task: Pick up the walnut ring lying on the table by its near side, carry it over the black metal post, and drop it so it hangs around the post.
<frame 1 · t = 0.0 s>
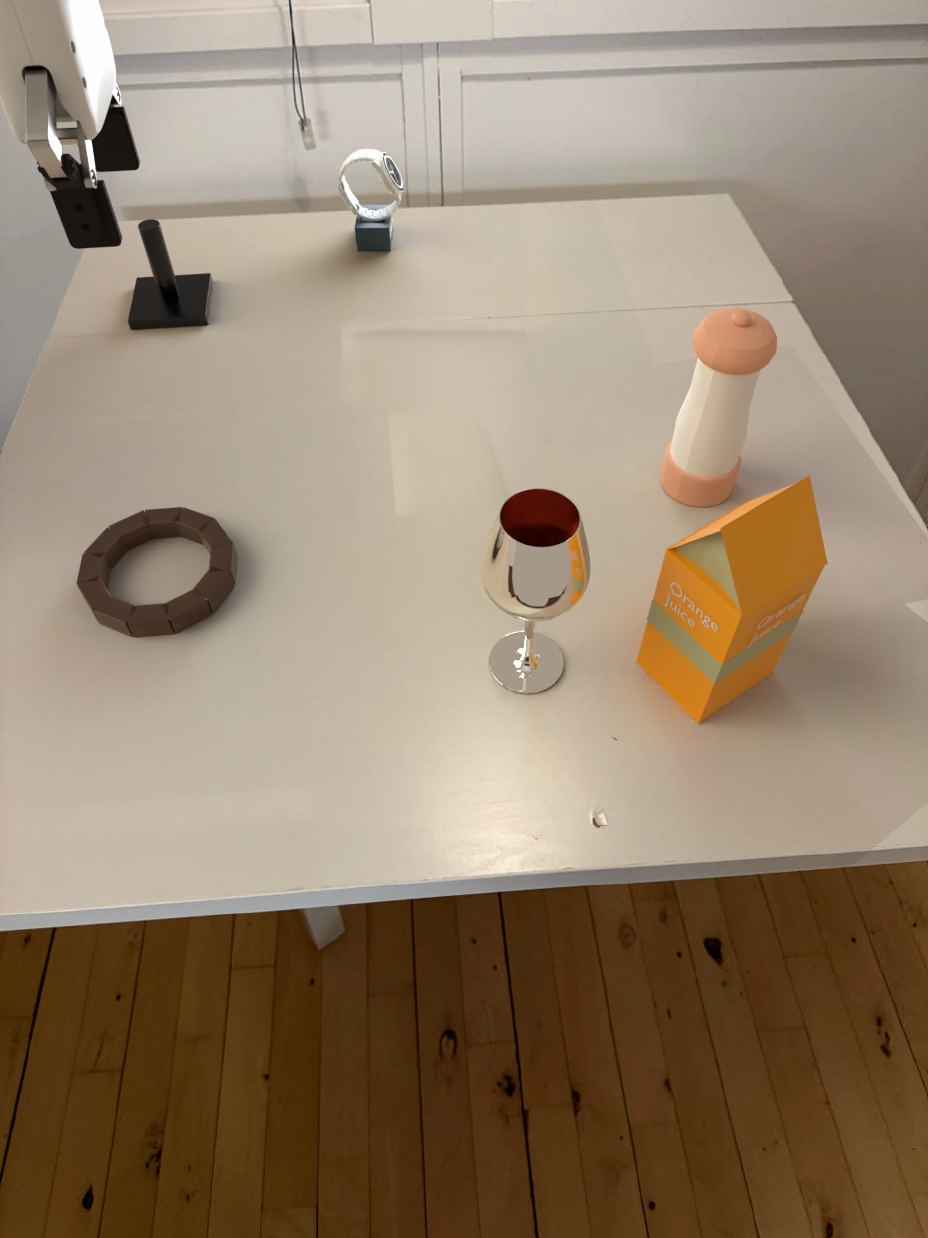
hand: (108, 205, 60), 32 cm above the table, tool pointing down, fingers open, 9 cm apart
wineglass: (526, 664, 77), on the table
post: (172, 304, 108), on the table
pepper shaker: (695, 482, 90), on the table
watch: (376, 240, 117), on the table
ring: (162, 576, 83), on the table
orange juice: (704, 668, 77), on the table
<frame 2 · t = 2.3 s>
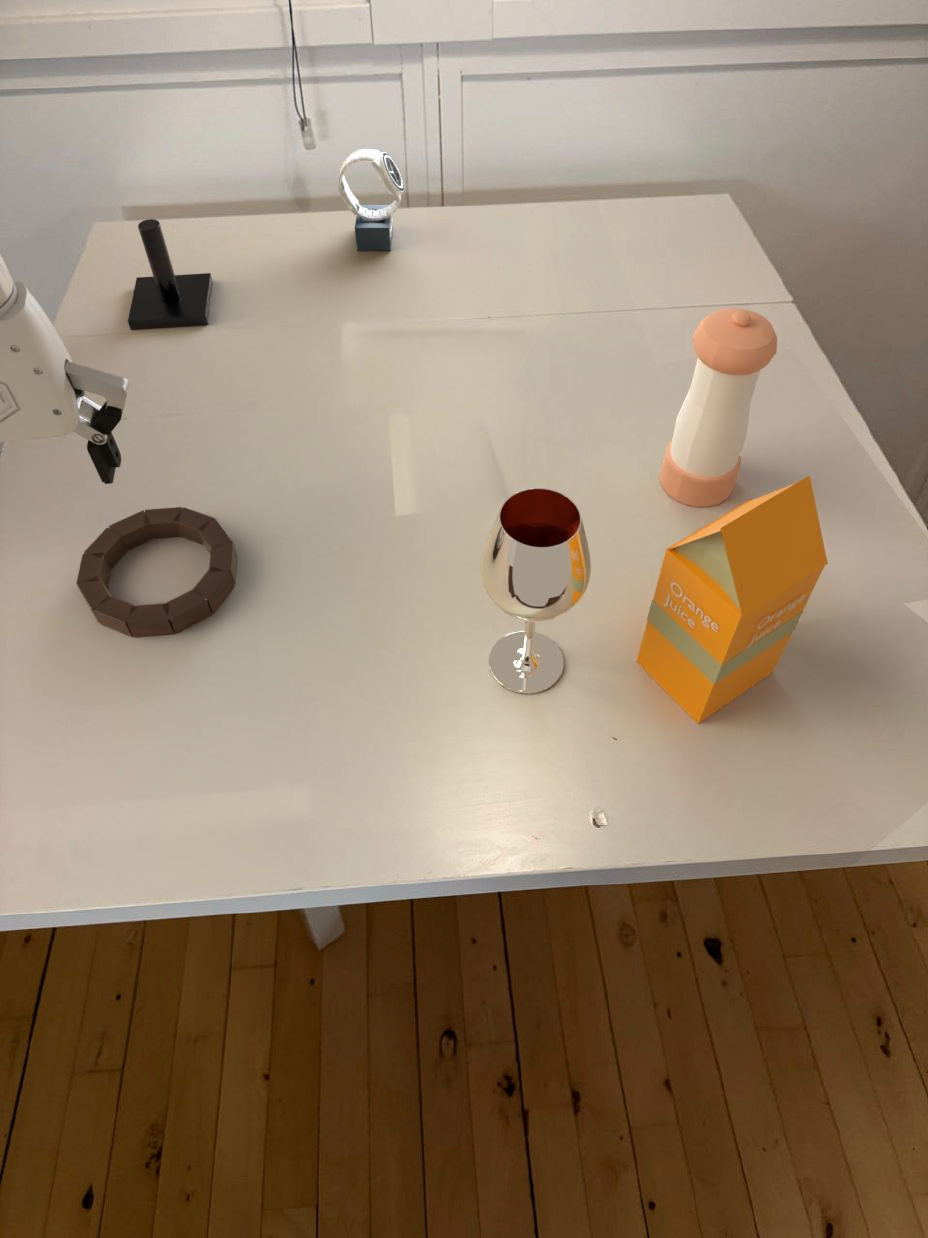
hand: (49, 476, 72), 13 cm above the table, tool pointing down, fingers open, 9 cm apart
nothing on the table moved.
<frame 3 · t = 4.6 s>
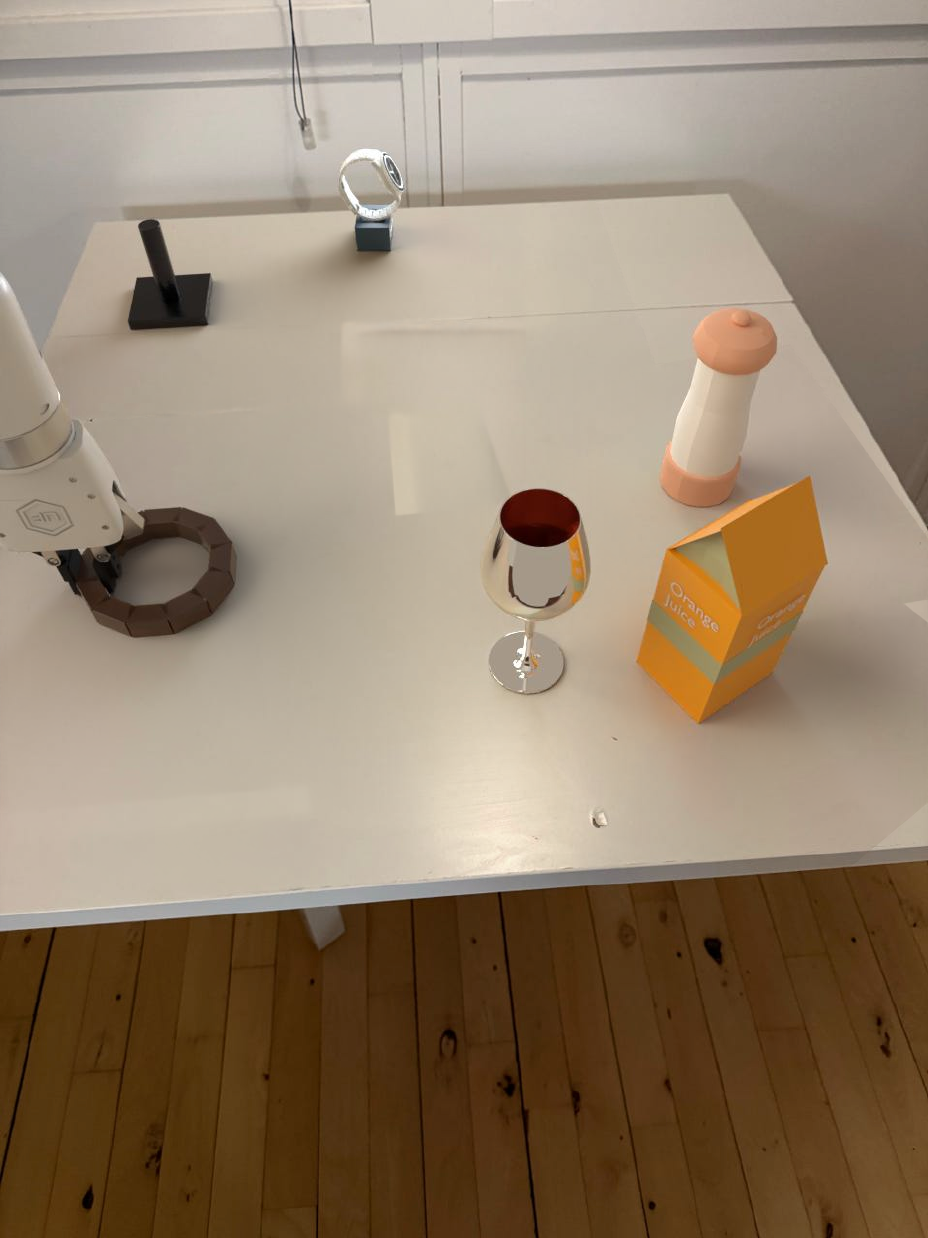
hand: (97, 580, 82), 0 cm above the table, tool pointing down, fingers closed on ring, 2 cm apart
ring: (161, 576, 83), on the table, touching gripper
everything else where it was.
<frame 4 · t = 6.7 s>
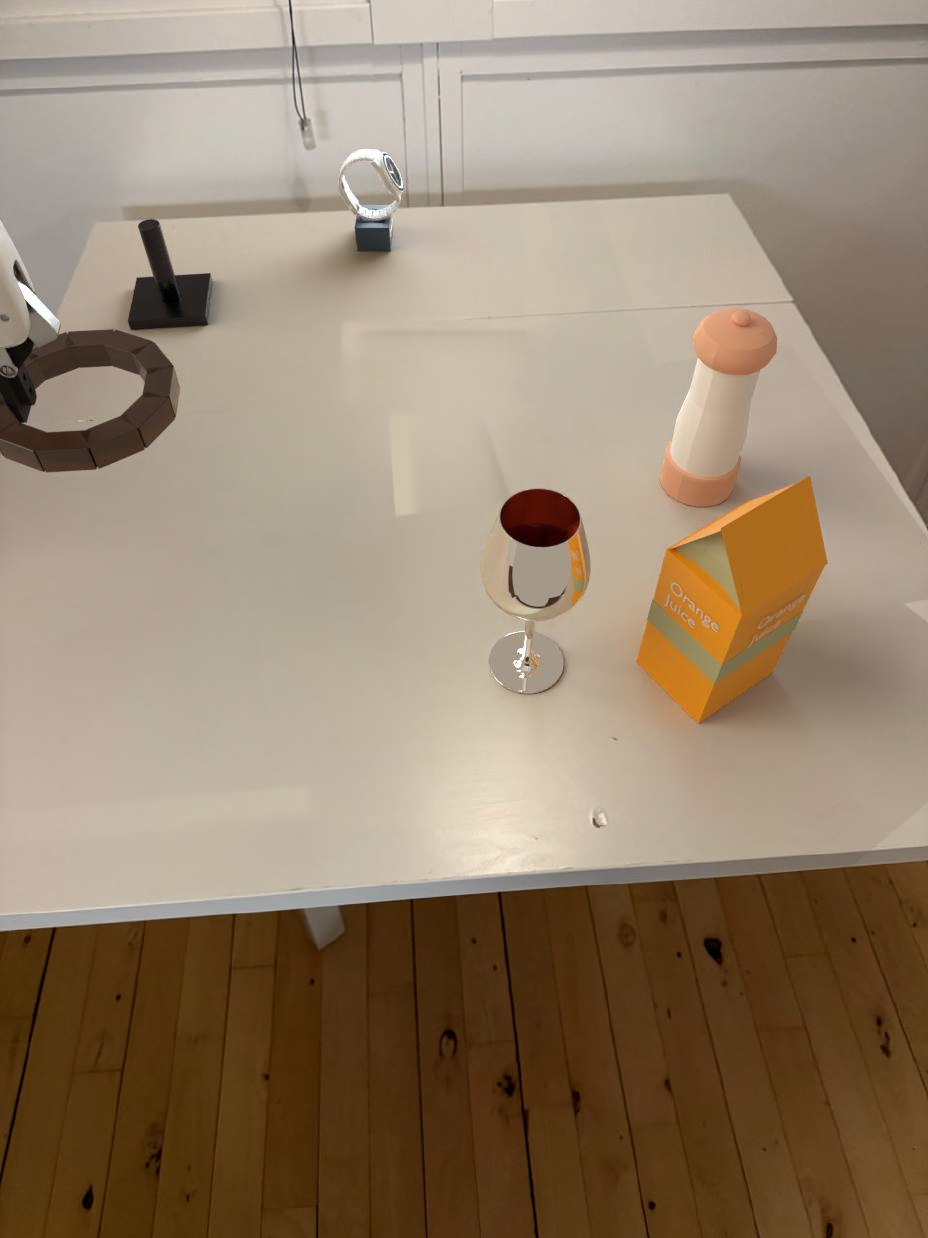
hand: (6, 410, 67), 20 cm above the table, tool pointing down, fingers closed on ring
ring: (86, 407, 67), point 20 cm above the table, touching gripper
everything else where it was.
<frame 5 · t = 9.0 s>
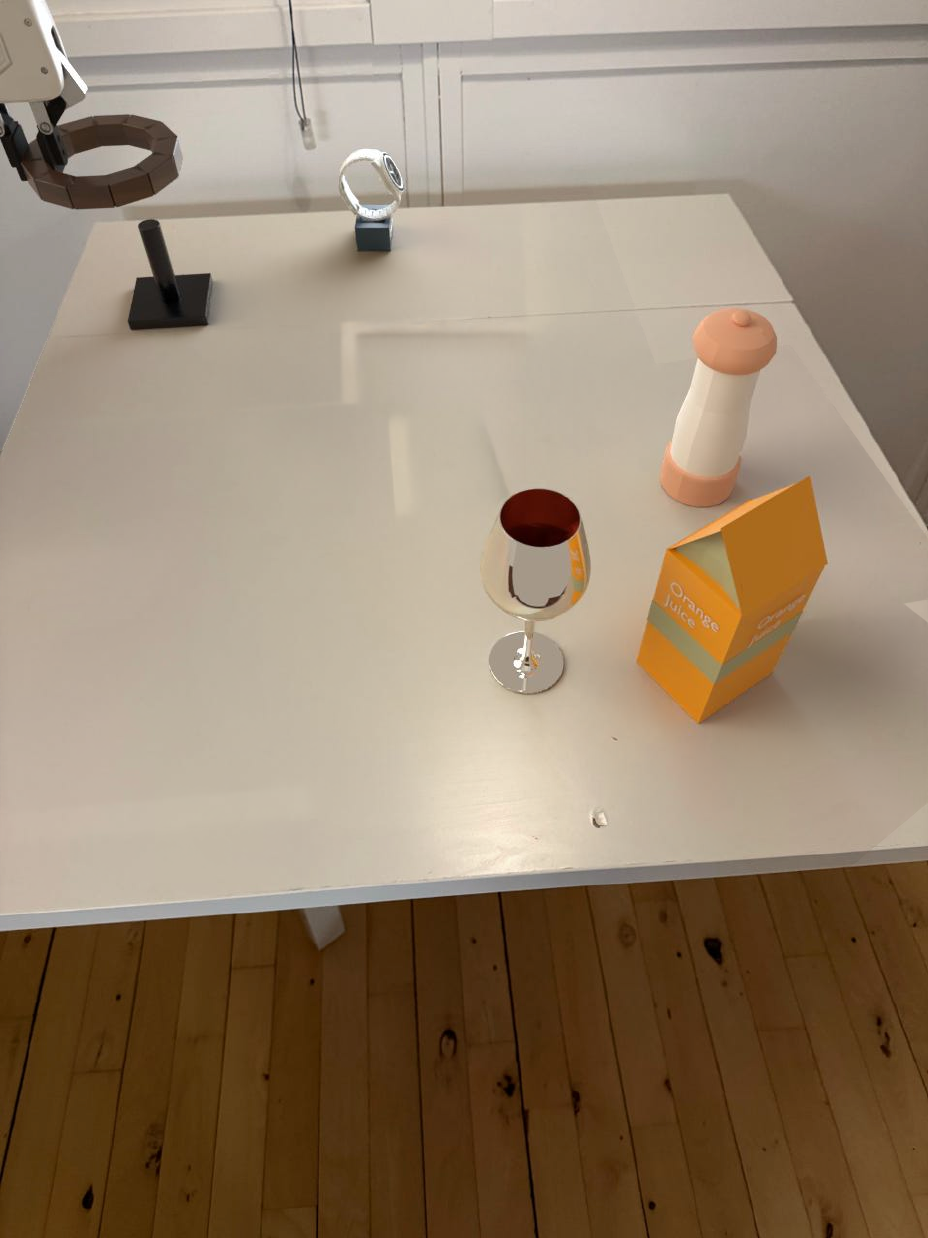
hand: (43, 171, 83), 22 cm above the table, tool pointing down, fingers closed on ring
ring: (107, 170, 84), point 22 cm above the table, touching gripper
everything else where it was.
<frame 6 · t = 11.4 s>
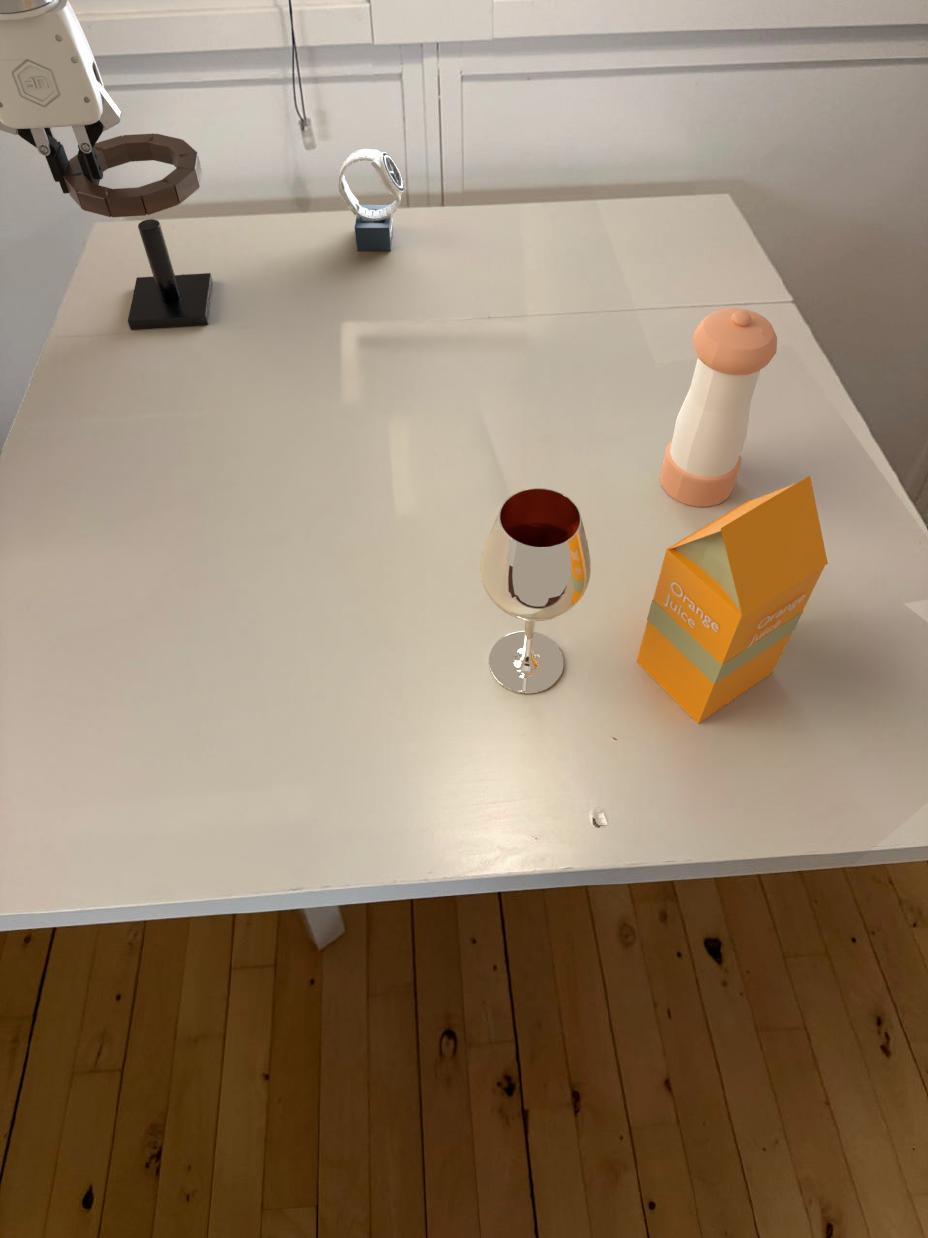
hand: (82, 184, 96), 15 cm above the table, tool pointing down, fingers closed on ring
ring: (137, 183, 97), point 15 cm above the table, touching gripper
everything else where it was.
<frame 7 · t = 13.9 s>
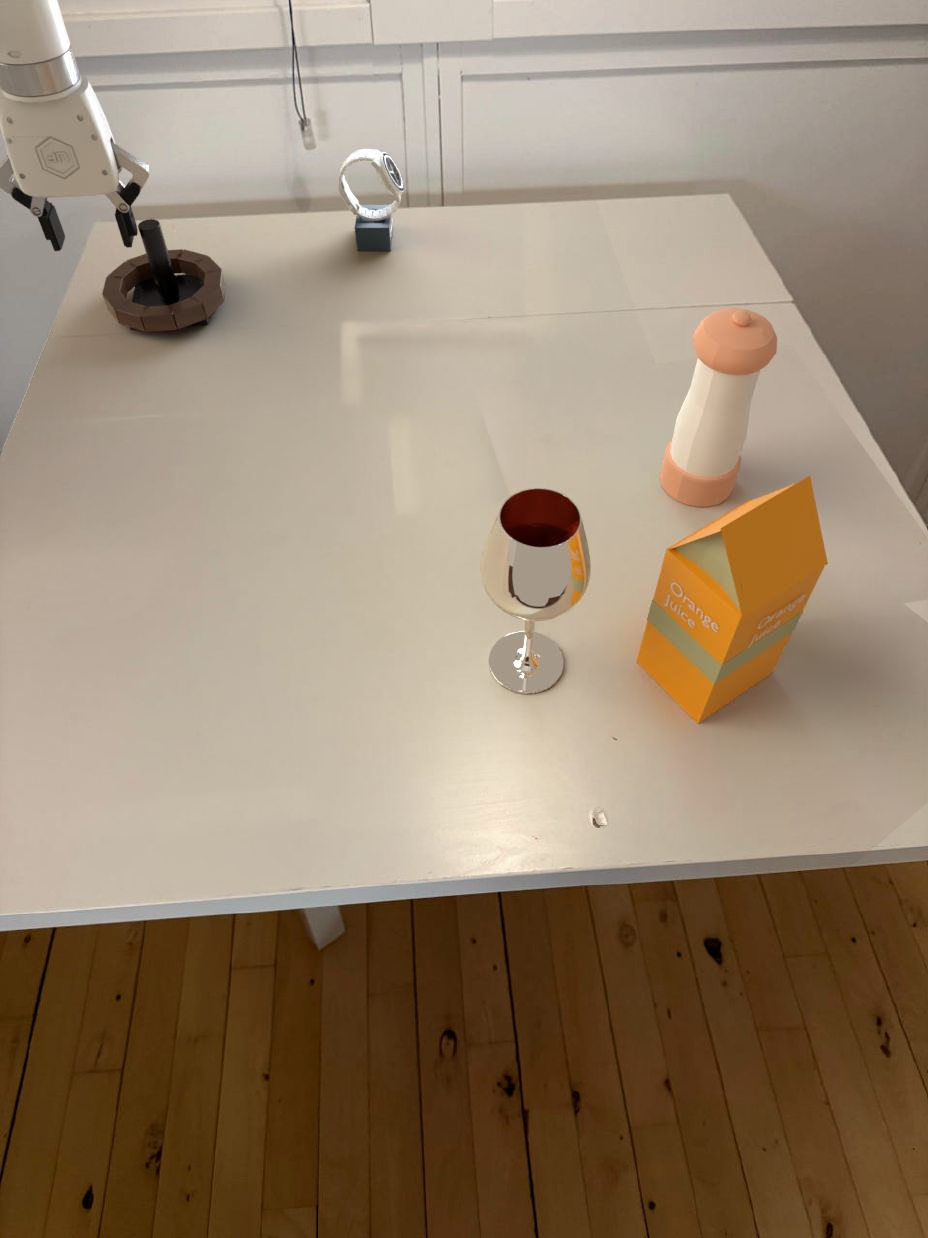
hand: (94, 241, 101), 9 cm above the table, tool pointing down, fingers open, 7 cm apart
ring: (167, 296, 107), point 1 cm above the table, touching post
everything else where it was.
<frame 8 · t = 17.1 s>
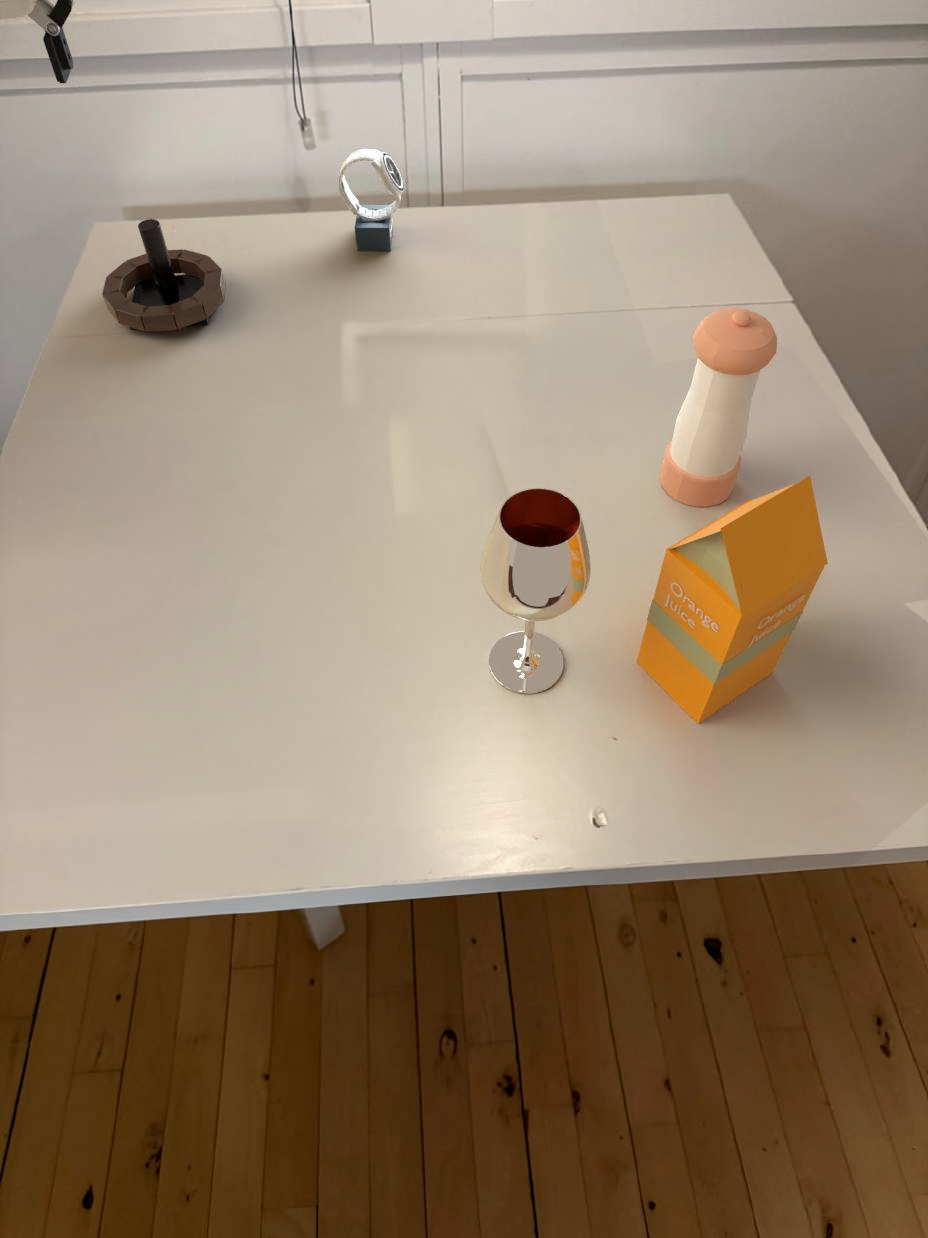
hand: (13, 79, 86), 26 cm above the table, tool pointing down, fingers open, 9 cm apart
nothing on the table moved.
at the end: ring 0.3 cm from the post (horizontally); ring point 1.2 cm above the table; the gripper is holding nothing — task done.
